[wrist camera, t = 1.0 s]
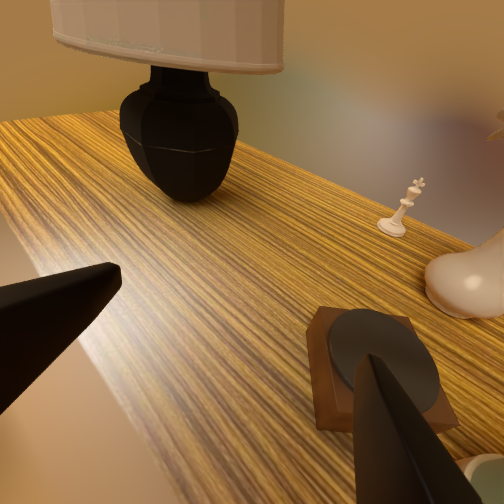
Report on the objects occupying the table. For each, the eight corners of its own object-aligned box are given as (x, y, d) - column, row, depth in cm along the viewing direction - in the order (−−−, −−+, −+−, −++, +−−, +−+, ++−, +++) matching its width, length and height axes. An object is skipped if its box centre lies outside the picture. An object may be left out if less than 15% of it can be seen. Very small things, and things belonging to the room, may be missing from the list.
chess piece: (399, 240, 43) (435, 189, 36) (372, 227, 45) (401, 176, 38) (407, 230, 46) (441, 180, 39) (382, 217, 48) (410, 169, 41)
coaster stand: (420, 440, 21) (466, 423, 17) (316, 429, 20) (340, 409, 17) (383, 341, 27) (411, 313, 24) (305, 331, 27) (321, 302, 23)
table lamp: (280, 188, 52) (358, -165, 25) (212, 266, 33) (238, -879, 6) (175, 154, 58) (148, -157, 31) (67, 202, 39) (-237, -487, 12)
